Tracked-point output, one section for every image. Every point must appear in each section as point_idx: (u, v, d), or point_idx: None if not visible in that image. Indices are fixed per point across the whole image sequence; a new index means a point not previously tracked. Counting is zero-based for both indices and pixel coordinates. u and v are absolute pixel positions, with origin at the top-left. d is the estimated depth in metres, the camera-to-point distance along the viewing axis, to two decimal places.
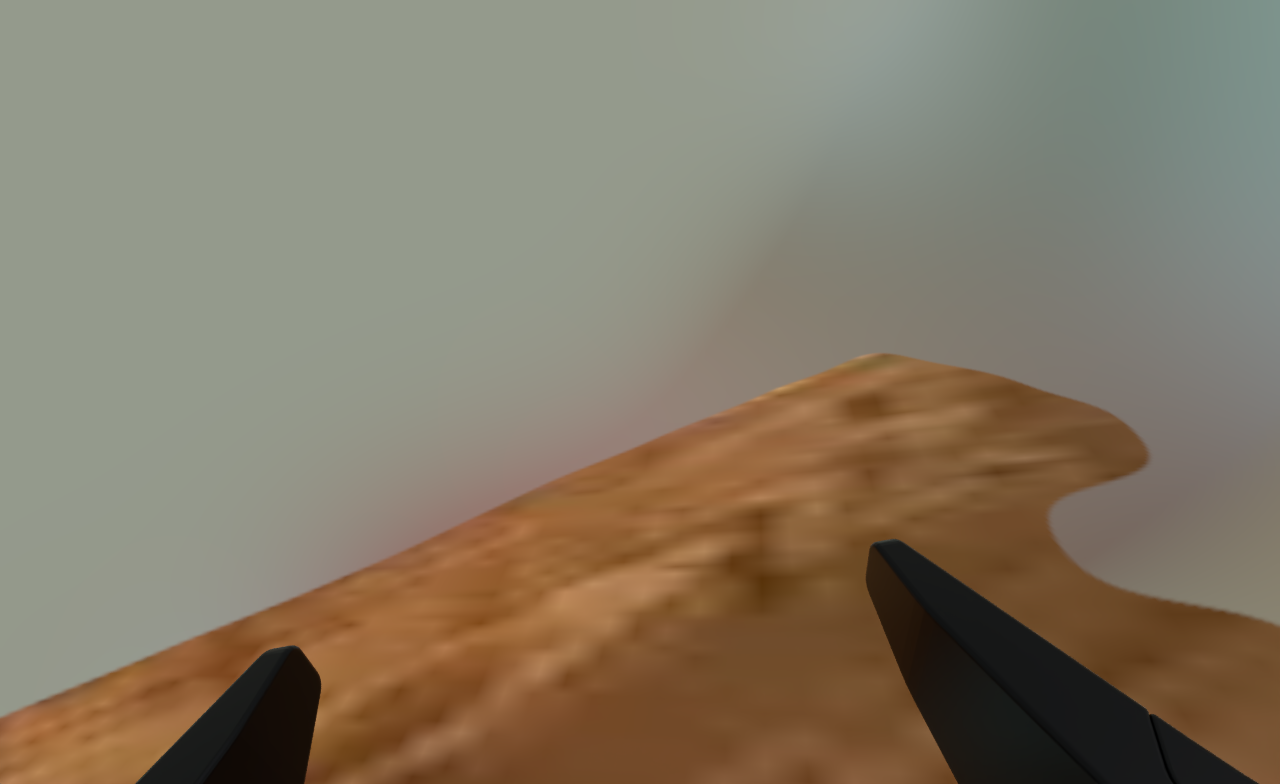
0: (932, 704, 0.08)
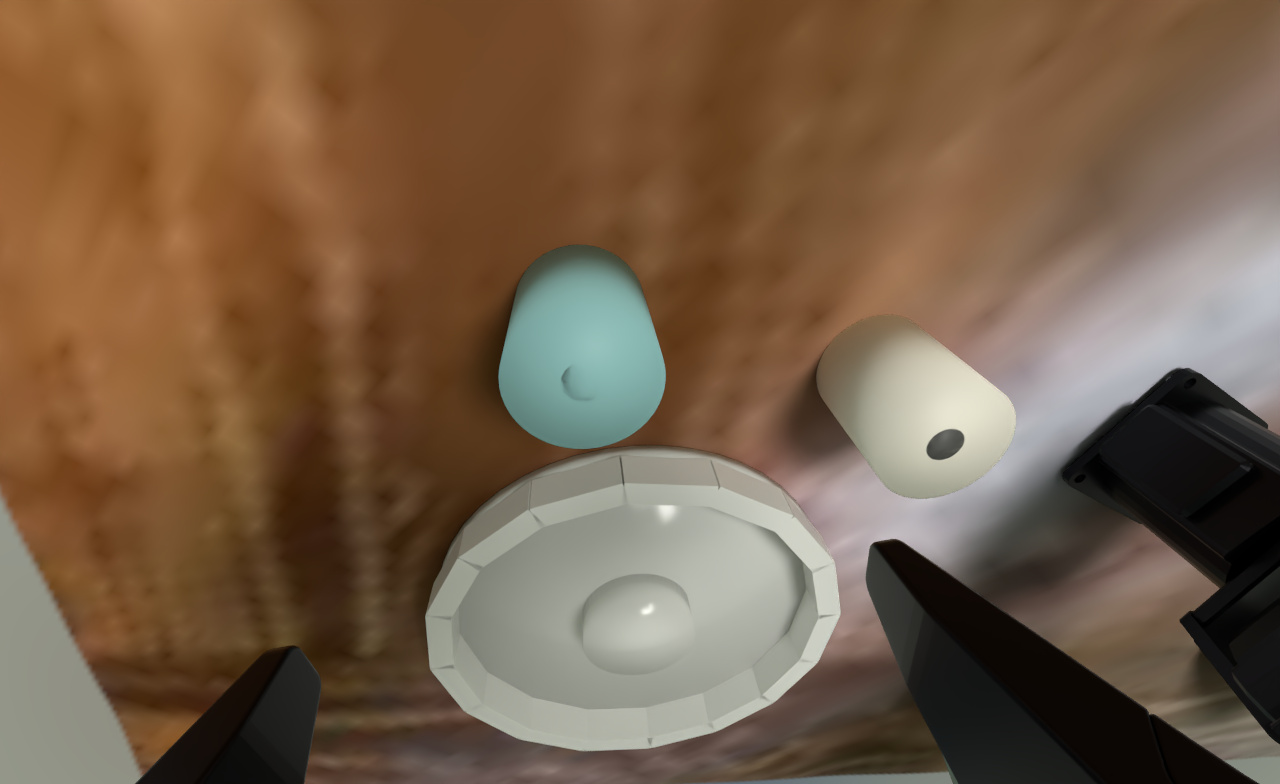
0: (932, 704, 0.08)
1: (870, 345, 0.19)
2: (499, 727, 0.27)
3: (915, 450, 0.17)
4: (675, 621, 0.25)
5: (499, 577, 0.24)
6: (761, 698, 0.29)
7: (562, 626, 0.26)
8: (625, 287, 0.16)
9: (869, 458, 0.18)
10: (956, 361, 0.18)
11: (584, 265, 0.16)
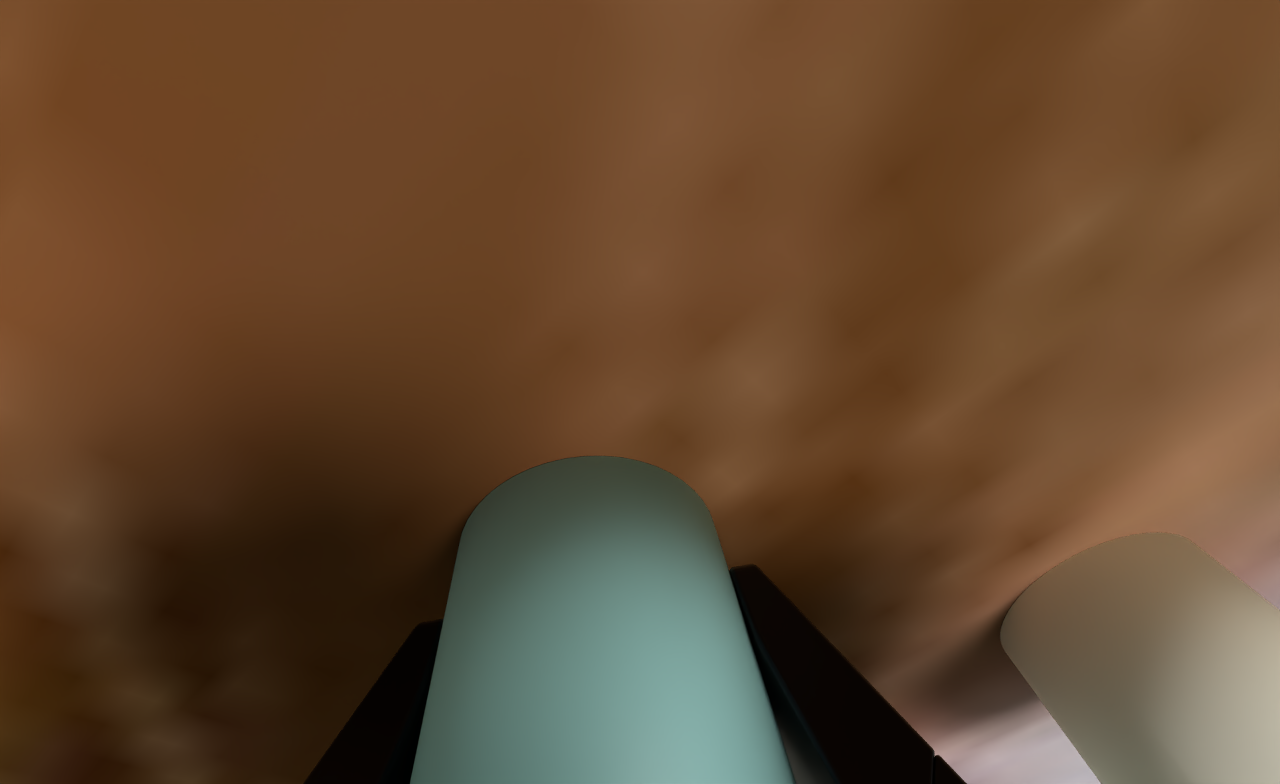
0: None
1: (1152, 621, 0.10)
2: None
3: None
4: None
5: None
6: None
7: None
8: (707, 625, 0.07)
9: None
10: None
11: (607, 559, 0.07)
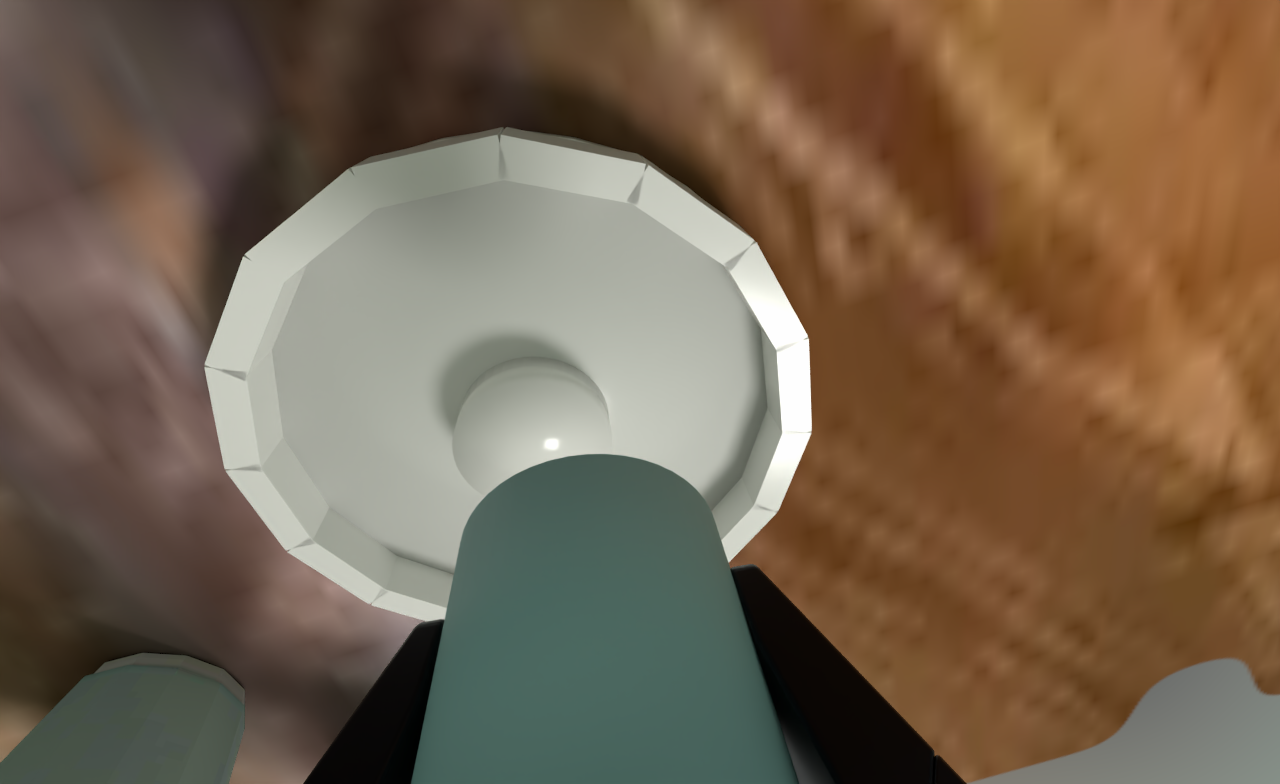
0: None
1: None
2: (412, 158, 0.13)
3: None
4: None
5: (695, 307, 0.18)
6: (305, 539, 0.19)
7: (556, 329, 0.18)
8: (710, 623, 0.07)
9: None
10: None
11: (608, 556, 0.07)
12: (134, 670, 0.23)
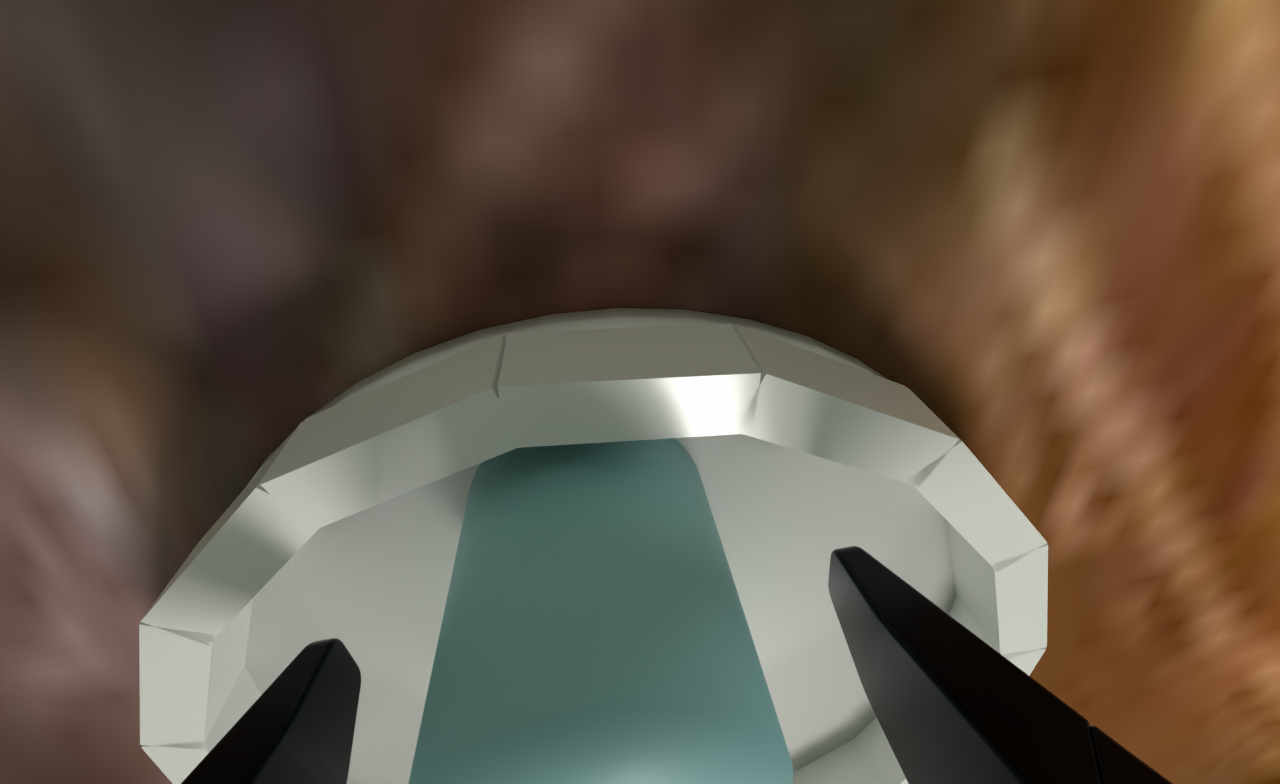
0: (887, 712, 0.08)
1: None
2: (606, 387, 0.07)
3: None
4: None
5: (889, 567, 0.13)
6: None
7: None
8: (689, 547, 0.08)
9: None
10: None
11: (601, 492, 0.08)
12: None
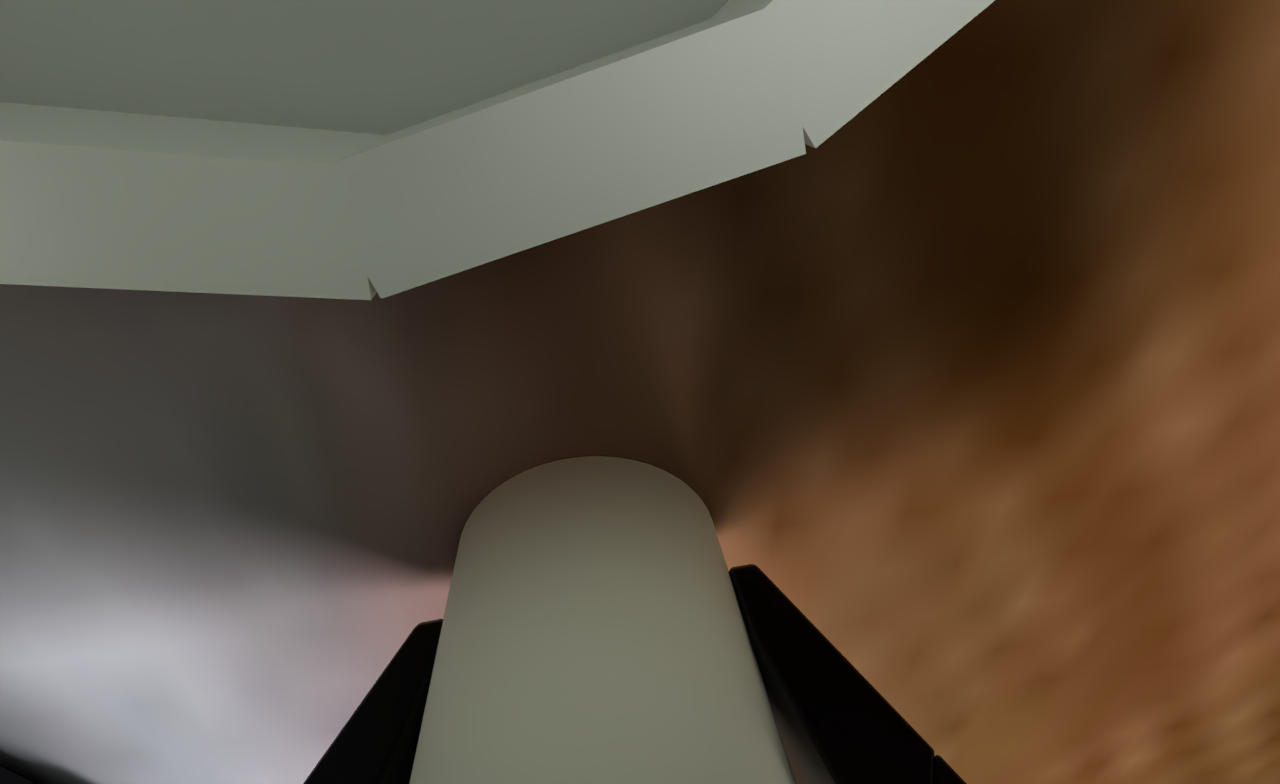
0: None
1: None
2: None
3: None
4: None
5: None
6: None
7: None
8: None
9: None
10: None
11: None
12: None
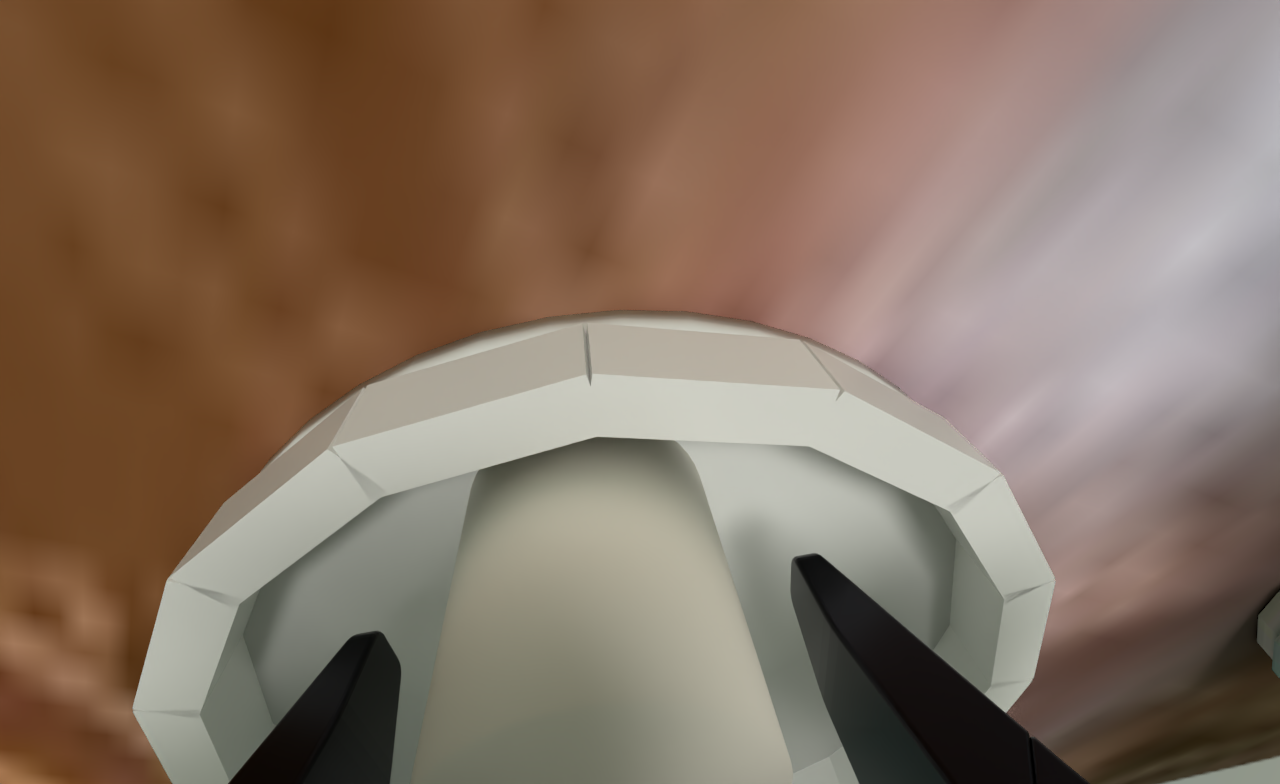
0: (842, 721, 0.08)
1: None
2: None
3: (653, 773, 0.06)
4: None
5: None
6: None
7: None
8: None
9: (681, 661, 0.06)
10: None
11: None
12: (1279, 671, 0.17)
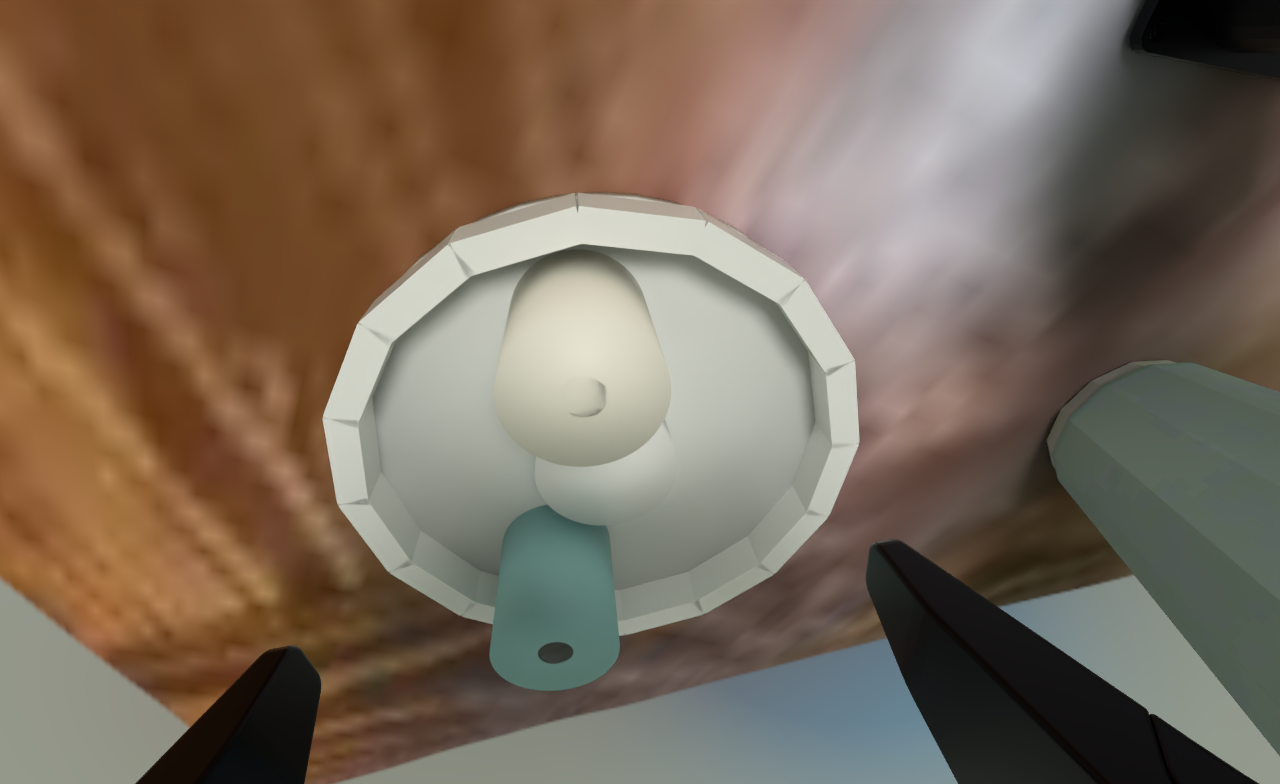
0: (932, 704, 0.08)
1: None
2: None
3: (604, 369, 0.14)
4: None
5: (419, 445, 0.20)
6: (809, 514, 0.22)
7: (529, 490, 0.22)
8: None
9: (616, 313, 0.14)
10: None
11: None
12: (1059, 478, 0.25)
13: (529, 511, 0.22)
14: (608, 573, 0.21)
